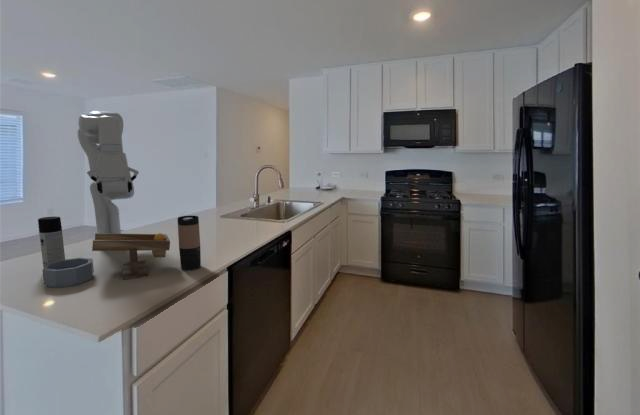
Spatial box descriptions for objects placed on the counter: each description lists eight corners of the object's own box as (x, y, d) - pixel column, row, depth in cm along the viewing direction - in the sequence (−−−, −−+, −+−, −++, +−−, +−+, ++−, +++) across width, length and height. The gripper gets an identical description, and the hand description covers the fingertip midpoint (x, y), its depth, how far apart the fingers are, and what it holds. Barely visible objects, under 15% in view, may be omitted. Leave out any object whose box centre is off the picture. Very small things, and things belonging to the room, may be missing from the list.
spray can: (52, 266, 127) (45, 216, 124) (70, 265, 128) (64, 216, 124) (39, 272, 120) (32, 219, 117) (58, 271, 121) (52, 219, 118)
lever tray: (95, 245, 127) (96, 228, 127) (163, 245, 140) (164, 230, 139) (91, 259, 110) (92, 240, 110) (168, 258, 123) (170, 241, 122)
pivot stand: (122, 265, 128) (120, 239, 127) (145, 262, 133) (143, 237, 131) (122, 280, 113) (119, 251, 112) (148, 276, 117) (145, 248, 116)
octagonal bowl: (50, 277, 115) (47, 261, 114) (94, 271, 122) (93, 255, 121) (42, 291, 104) (39, 273, 103) (92, 283, 111) (90, 266, 110)
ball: (152, 241, 127) (154, 231, 126) (163, 242, 129) (165, 233, 129) (153, 244, 123) (155, 234, 123) (164, 245, 125) (166, 235, 125)
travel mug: (193, 263, 132) (190, 214, 129) (205, 266, 128) (202, 216, 124) (176, 268, 126) (172, 217, 123) (188, 272, 121) (184, 220, 118)
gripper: (82, 148, 120) (87, 194, 123) (136, 149, 128) (139, 192, 131) (86, 148, 126) (90, 192, 129) (137, 149, 134) (140, 190, 137)
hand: (115, 192), depth 130 cm, fingers open, 9 cm apart
